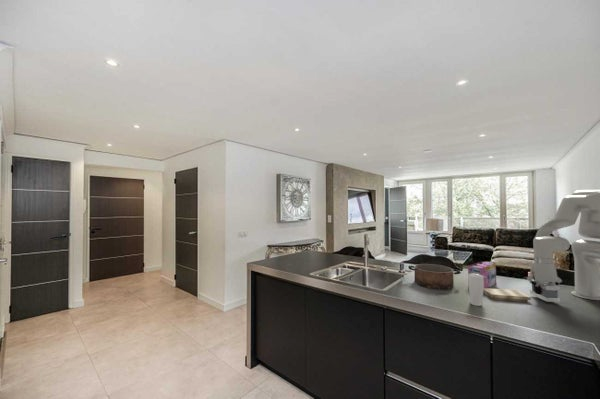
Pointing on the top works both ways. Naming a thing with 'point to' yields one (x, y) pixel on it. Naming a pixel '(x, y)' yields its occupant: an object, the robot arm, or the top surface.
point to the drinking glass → (476, 289)
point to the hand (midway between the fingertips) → (544, 293)
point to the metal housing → (547, 292)
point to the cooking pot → (434, 276)
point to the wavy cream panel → (506, 295)
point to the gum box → (484, 272)
